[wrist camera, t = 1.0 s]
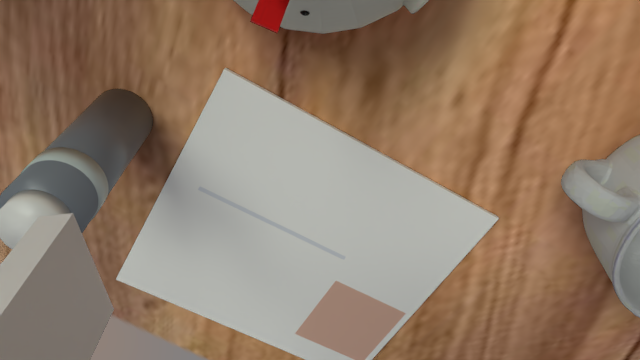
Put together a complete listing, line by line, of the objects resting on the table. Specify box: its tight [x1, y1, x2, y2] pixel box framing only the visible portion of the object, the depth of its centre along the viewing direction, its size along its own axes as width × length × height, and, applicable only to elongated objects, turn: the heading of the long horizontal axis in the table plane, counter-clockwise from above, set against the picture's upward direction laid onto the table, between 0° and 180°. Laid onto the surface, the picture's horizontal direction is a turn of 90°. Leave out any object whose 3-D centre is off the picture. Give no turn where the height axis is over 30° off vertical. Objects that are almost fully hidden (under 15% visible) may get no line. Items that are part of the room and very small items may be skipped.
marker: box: [0, 89, 153, 250], centre depth 28 cm, size 4×4×12 cm
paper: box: [116, 67, 499, 360], centre depth 38 cm, size 20×18×1 cm
